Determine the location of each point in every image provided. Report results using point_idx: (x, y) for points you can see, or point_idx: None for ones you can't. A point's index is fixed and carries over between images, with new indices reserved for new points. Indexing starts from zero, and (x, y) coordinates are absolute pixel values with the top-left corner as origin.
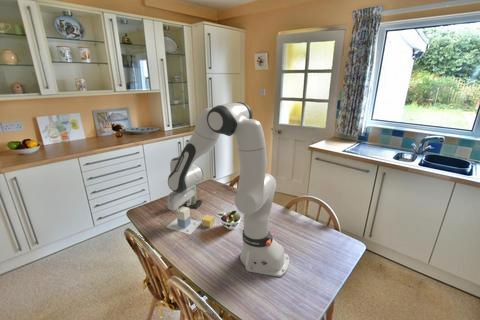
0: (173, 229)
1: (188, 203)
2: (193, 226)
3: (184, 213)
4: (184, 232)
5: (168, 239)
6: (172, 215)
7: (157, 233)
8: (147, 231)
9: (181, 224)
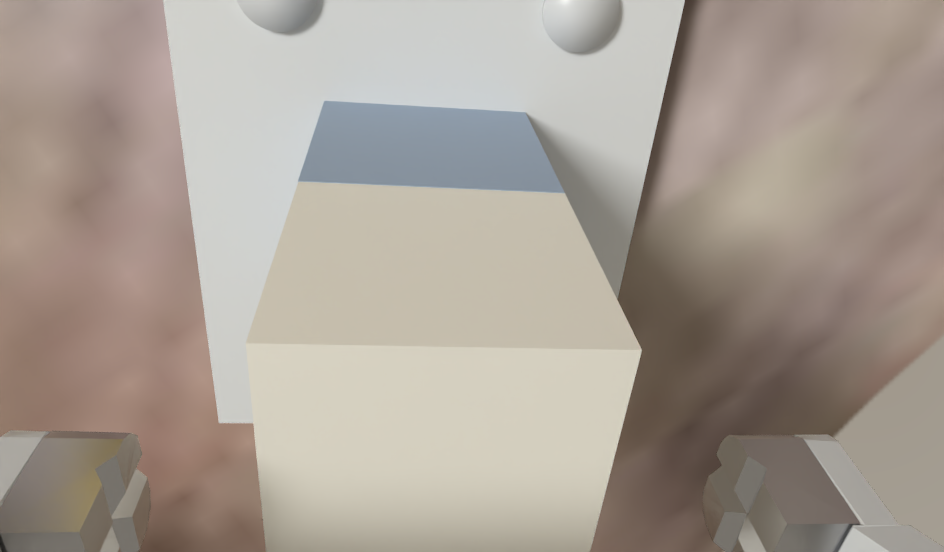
0: (616, 294)
1: (88, 544)
2: None
3: (597, 313)
4: (661, 51)
5: (846, 221)
6: (238, 515)
7: (720, 435)
8: (699, 547)
9: None
